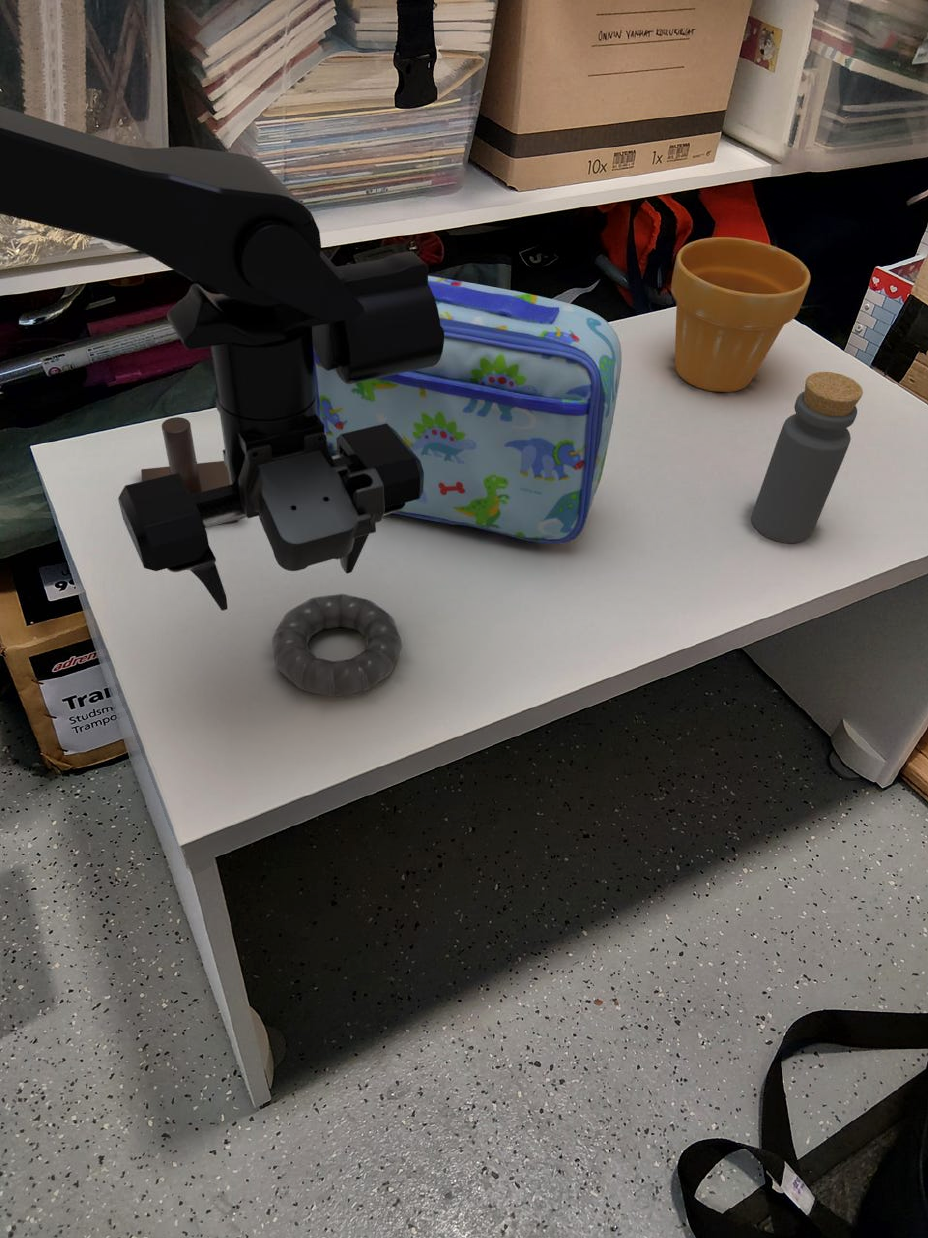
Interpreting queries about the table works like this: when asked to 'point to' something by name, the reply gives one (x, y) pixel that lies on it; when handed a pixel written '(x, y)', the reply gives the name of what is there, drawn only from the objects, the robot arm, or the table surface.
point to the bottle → (807, 458)
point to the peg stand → (187, 460)
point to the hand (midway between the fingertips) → (286, 587)
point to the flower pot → (732, 308)
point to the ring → (343, 673)
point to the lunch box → (497, 412)
